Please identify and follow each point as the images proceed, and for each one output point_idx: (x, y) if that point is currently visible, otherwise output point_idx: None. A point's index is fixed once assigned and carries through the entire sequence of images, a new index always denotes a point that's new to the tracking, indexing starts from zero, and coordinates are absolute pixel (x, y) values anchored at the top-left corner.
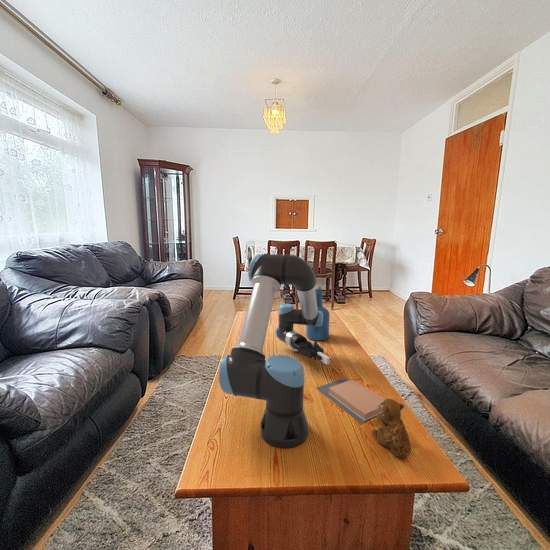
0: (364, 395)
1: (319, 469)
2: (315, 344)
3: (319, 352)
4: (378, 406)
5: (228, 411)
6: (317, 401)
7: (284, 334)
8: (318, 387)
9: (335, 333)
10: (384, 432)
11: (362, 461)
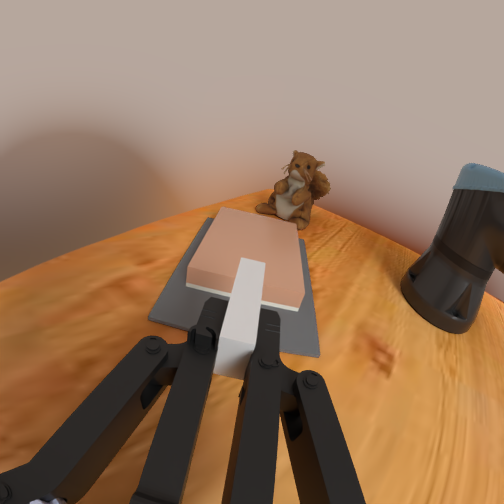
0: (241, 232)
1: (400, 252)
2: (68, 471)
3: (236, 330)
4: (310, 177)
5: None
6: (348, 316)
7: None
8: (307, 350)
9: None
10: (310, 200)
11: (348, 230)
